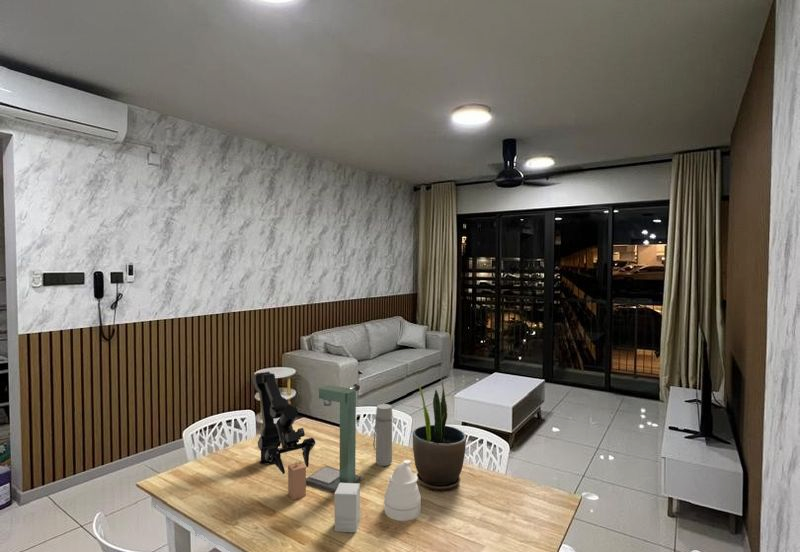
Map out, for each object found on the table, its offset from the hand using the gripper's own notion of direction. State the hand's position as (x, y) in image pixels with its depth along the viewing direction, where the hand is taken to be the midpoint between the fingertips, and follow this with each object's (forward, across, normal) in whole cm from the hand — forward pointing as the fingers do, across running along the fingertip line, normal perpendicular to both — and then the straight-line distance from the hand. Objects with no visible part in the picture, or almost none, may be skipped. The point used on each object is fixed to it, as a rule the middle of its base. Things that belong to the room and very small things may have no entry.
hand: (296, 470), depth 160 cm
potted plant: (+22, +51, -9) cm, 57 cm away
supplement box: (+27, +7, -13) cm, 31 cm away
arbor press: (+5, +19, +8) cm, 21 cm away
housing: (+7, 0, +6) cm, 9 cm away
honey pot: (+29, +27, -15) cm, 42 cm away
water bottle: (+4, +41, +9) cm, 42 cm away
